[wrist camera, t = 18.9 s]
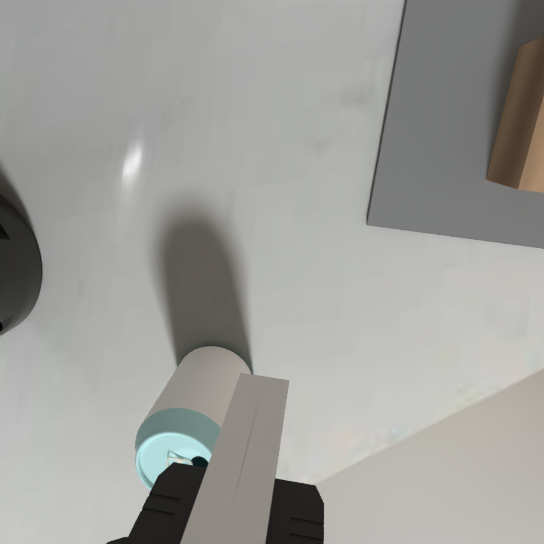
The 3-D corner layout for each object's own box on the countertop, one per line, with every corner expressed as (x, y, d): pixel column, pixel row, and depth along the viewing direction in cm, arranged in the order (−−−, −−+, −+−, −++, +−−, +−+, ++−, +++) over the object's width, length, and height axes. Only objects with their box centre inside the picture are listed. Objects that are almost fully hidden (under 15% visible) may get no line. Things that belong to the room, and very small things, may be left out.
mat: (366, 223, 36) (367, 225, 36) (412, -37, 31) (414, -40, 30) (656, 262, 35) (661, 264, 34) (759, -5, 29) (767, -8, 29)
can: (221, 328, 41) (180, 405, 29) (269, 387, 42) (248, 483, 30) (164, 368, 42) (104, 455, 31) (211, 423, 44) (170, 526, 32)
